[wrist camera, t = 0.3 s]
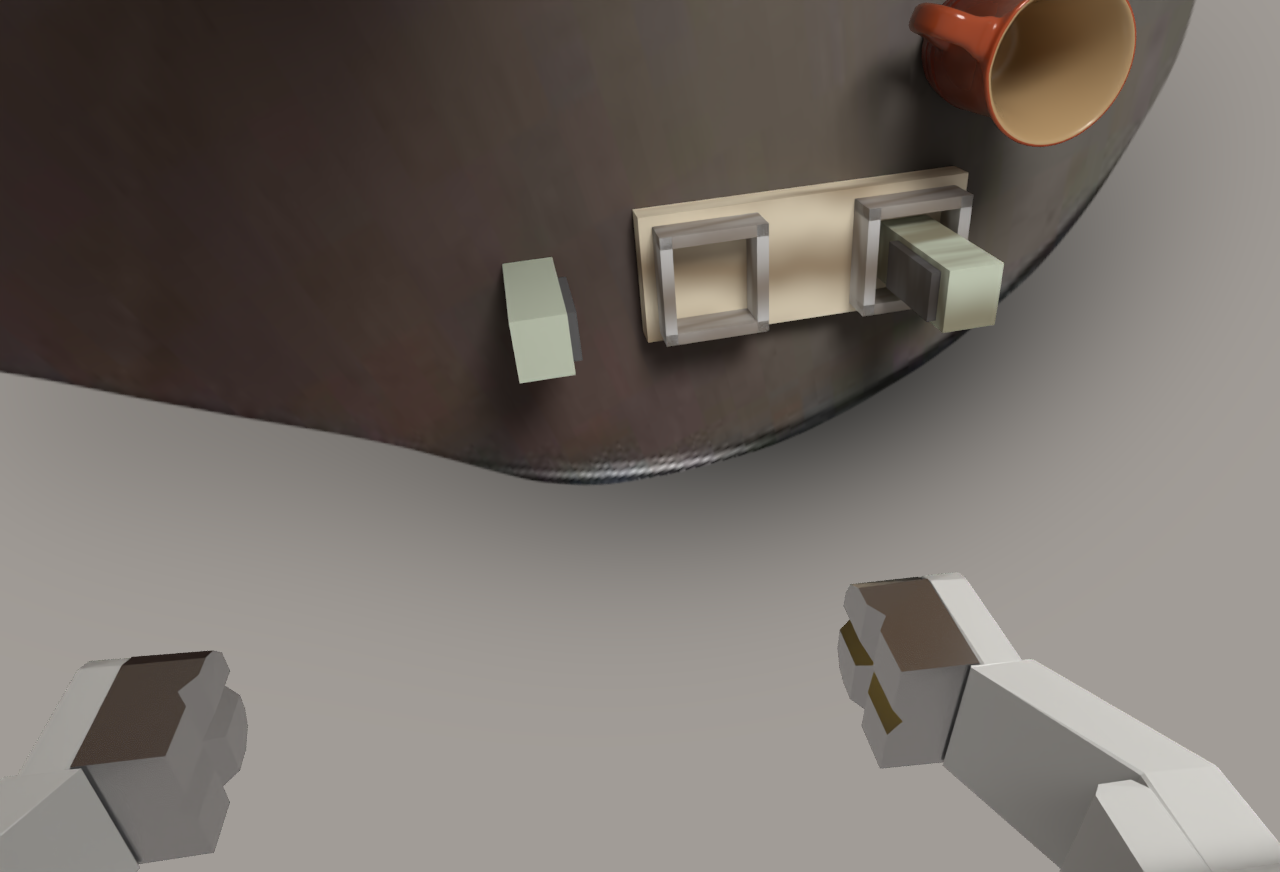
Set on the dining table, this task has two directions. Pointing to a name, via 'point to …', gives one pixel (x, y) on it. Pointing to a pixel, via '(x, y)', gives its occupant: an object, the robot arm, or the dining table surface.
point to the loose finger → (541, 320)
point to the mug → (1028, 61)
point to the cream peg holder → (814, 257)
